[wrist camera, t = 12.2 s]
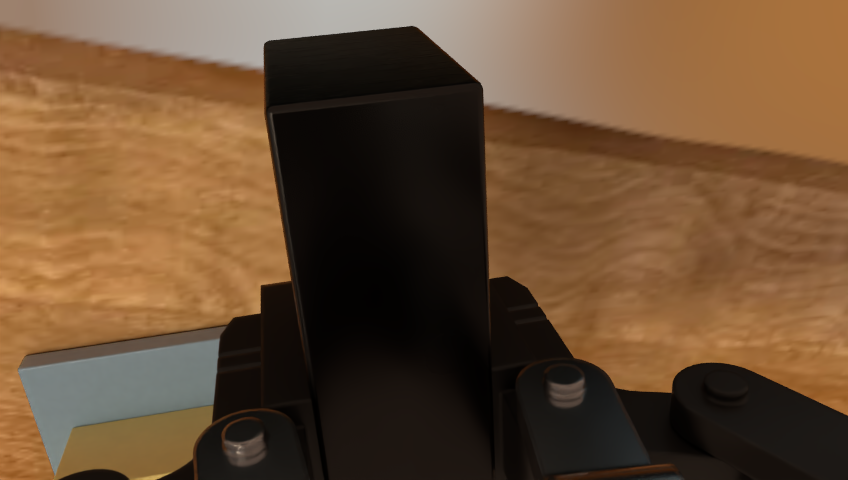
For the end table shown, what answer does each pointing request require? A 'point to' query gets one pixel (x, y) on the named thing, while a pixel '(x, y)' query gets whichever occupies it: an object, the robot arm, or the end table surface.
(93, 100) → the end table surface
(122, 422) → the butter stick
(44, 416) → the butter dish
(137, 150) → the end table surface
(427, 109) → the knife
